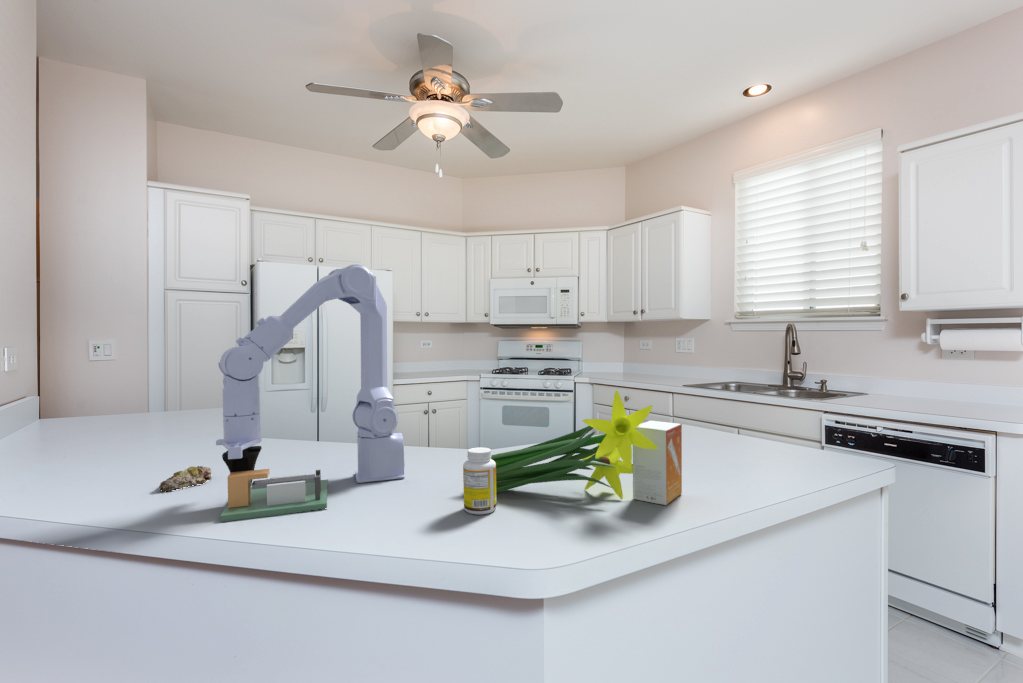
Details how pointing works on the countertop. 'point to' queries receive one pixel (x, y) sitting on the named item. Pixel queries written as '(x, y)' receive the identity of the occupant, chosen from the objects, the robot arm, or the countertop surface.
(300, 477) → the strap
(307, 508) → the board
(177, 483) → the mineral rock
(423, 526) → the countertop surface
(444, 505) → the countertop surface
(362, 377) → the robot arm
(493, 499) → the supplement bottle
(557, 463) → the daffodil flowers
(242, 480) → the orange l-shaped block
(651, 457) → the small box
